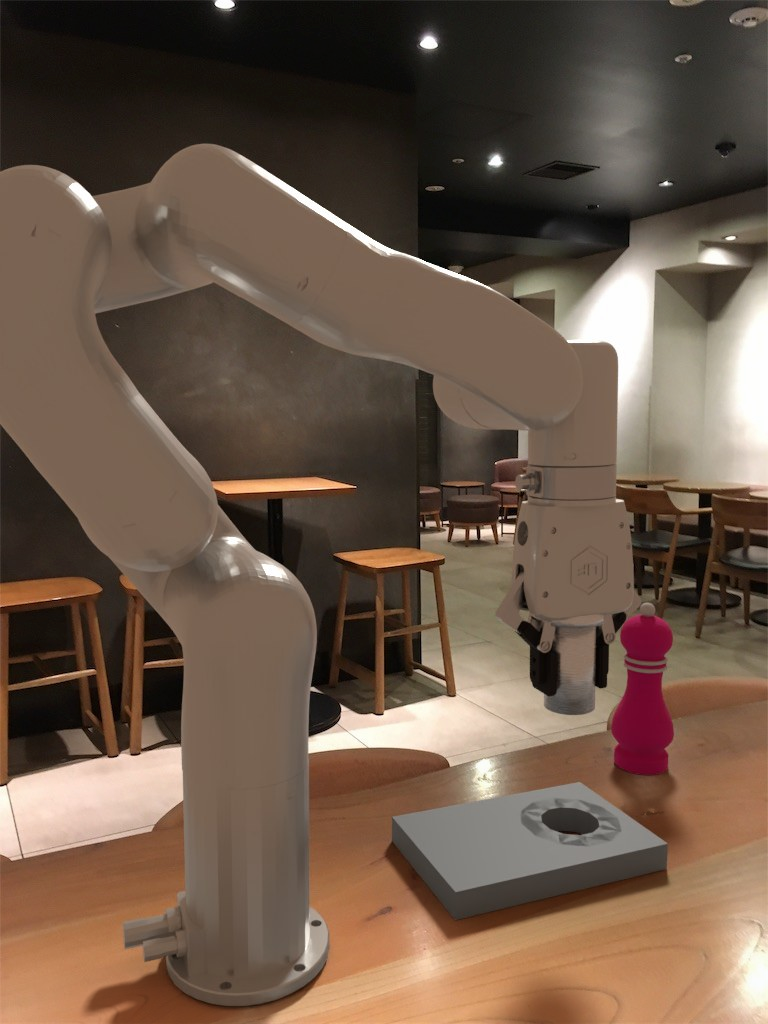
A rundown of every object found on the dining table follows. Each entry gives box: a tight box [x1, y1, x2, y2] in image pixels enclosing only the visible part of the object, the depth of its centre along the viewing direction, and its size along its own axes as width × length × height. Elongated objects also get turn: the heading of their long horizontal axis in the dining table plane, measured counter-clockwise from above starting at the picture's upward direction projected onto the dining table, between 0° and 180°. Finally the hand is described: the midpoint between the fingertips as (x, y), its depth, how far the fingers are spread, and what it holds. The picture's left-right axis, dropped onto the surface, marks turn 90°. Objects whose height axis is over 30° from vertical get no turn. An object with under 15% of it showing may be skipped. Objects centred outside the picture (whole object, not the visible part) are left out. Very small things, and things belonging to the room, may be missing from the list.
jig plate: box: [391, 781, 669, 921], centre depth 80 cm, size 22×14×2 cm, turn 112°
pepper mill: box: [610, 602, 675, 776], centre depth 100 cm, size 7×7×20 cm
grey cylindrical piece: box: [537, 614, 605, 716], centre depth 75 cm, size 6×6×9 cm
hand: (569, 685), depth 75 cm, fingers closed on grey cylindrical piece, 4 cm apart
